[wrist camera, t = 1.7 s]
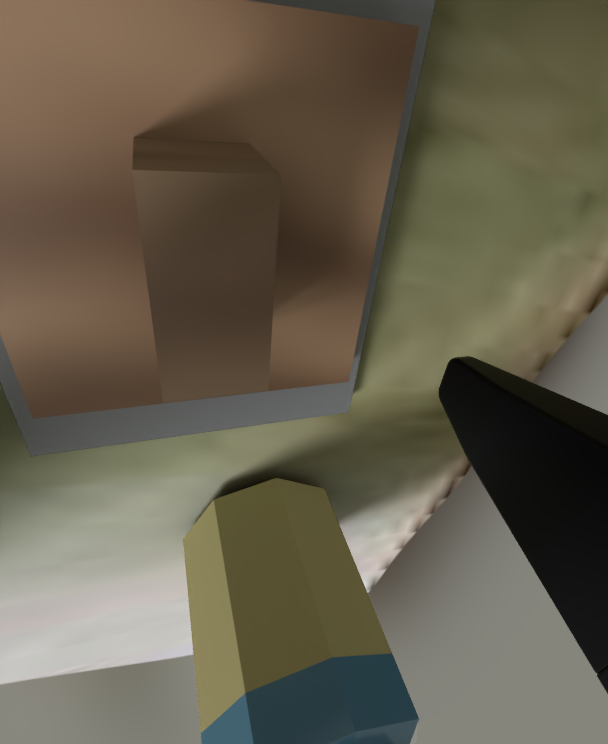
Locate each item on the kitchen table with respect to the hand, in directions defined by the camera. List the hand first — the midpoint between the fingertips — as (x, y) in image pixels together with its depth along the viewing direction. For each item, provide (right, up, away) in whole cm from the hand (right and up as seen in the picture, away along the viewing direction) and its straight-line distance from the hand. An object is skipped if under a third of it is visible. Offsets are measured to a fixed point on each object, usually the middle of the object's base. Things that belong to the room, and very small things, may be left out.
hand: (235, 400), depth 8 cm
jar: (-2, -8, +19) cm, 21 cm away
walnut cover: (-2, +5, +6) cm, 8 cm away
